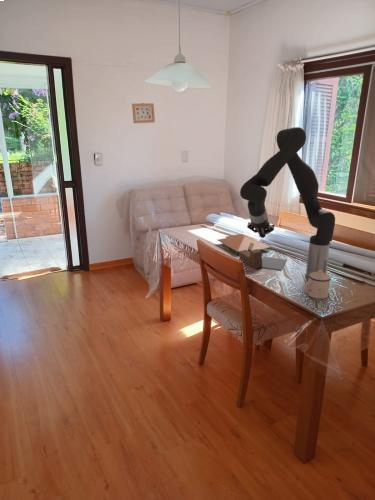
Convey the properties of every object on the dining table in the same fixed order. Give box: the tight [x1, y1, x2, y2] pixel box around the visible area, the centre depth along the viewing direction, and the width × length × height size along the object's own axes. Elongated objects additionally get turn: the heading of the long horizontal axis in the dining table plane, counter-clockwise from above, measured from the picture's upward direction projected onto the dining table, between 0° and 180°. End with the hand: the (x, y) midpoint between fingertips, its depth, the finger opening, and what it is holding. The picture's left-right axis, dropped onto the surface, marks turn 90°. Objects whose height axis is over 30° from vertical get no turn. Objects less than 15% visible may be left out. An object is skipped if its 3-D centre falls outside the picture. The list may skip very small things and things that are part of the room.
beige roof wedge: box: [217, 233, 271, 255], centre depth 227 cm, size 23×33×8 cm
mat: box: [261, 256, 288, 271], centre depth 200 cm, size 13×18×1 cm
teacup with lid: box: [304, 270, 332, 300], centre depth 159 cm, size 12×9×12 cm
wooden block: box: [238, 249, 263, 270], centre depth 199 cm, size 9×4×18 cm
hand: (262, 236), depth 176 cm, fingers closed
